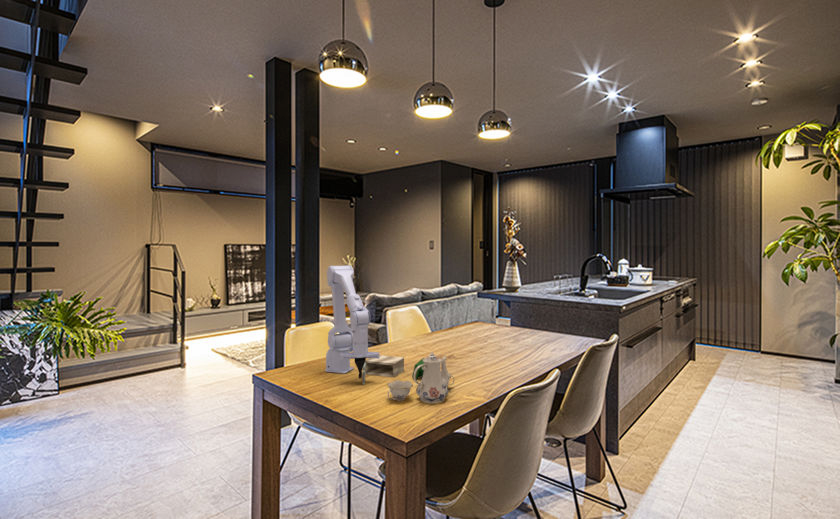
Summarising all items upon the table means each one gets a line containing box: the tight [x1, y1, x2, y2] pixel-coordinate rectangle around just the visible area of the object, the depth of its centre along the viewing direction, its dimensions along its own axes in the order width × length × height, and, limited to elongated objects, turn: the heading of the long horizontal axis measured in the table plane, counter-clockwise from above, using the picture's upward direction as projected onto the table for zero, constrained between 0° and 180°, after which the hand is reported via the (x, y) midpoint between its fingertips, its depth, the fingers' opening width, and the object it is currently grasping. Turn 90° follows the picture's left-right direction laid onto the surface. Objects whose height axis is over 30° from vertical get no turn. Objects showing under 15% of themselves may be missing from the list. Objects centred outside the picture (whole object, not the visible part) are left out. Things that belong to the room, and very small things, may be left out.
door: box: [361, 362, 367, 385], centre depth 161 cm, size 14×1×5 cm, turn 6°
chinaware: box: [386, 351, 455, 405], centre depth 142 cm, size 28×17×17 cm, turn 133°
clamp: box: [411, 357, 426, 380], centre depth 165 cm, size 12×6×9 cm, turn 156°
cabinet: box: [365, 354, 405, 378], centre depth 170 cm, size 13×10×6 cm
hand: (360, 377), depth 157 cm, fingers closed
